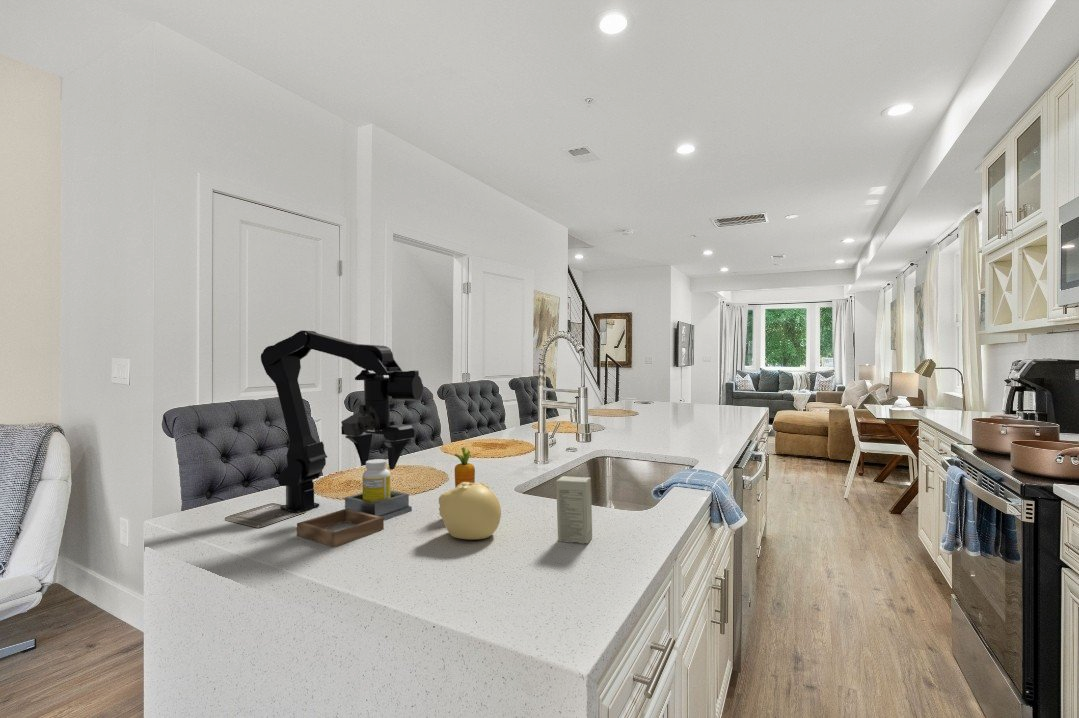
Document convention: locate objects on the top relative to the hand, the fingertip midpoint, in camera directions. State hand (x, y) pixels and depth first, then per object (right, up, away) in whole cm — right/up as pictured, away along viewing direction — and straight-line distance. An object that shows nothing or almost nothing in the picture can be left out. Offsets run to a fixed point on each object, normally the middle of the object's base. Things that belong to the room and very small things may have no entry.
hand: (377, 467), depth 124 cm
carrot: (+20, -11, 0) cm, 23 cm away
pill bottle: (0, -10, 0) cm, 10 cm away
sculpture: (+24, -11, -15) cm, 30 cm away
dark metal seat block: (0, -11, 0) cm, 11 cm away
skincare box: (+44, -11, -17) cm, 49 cm away
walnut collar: (-4, -11, -13) cm, 17 cm away
